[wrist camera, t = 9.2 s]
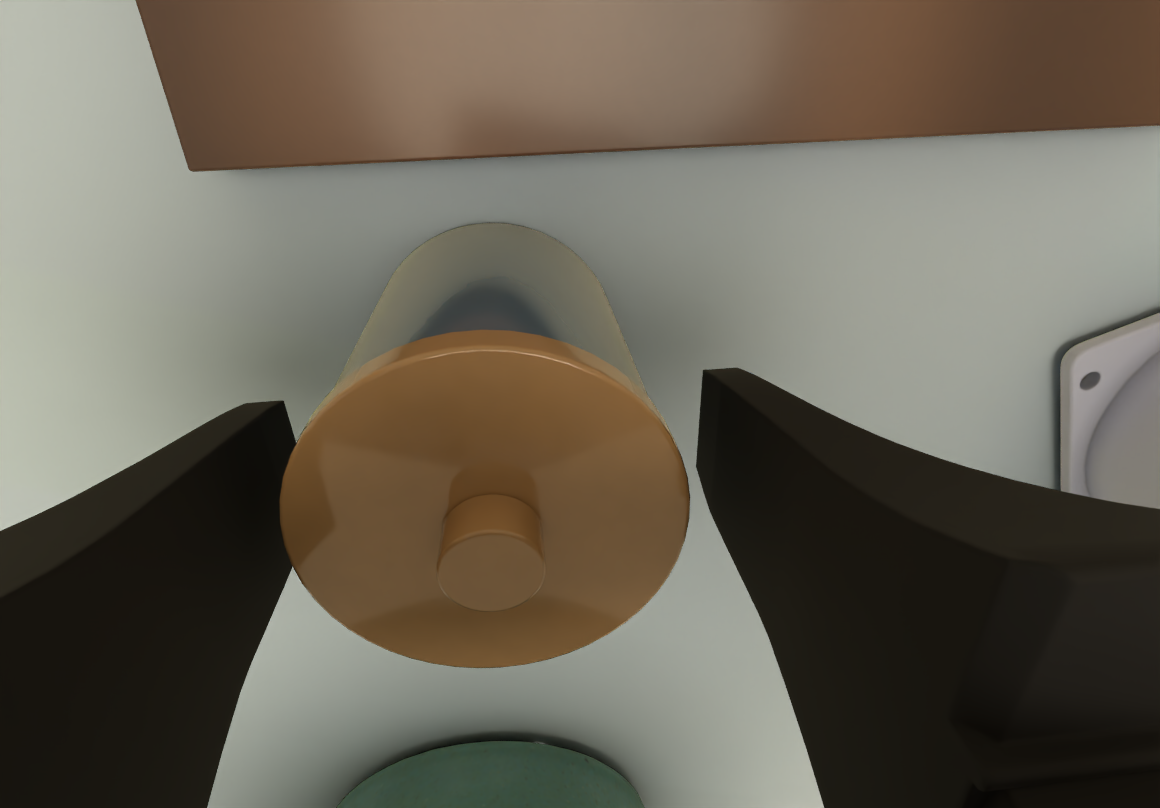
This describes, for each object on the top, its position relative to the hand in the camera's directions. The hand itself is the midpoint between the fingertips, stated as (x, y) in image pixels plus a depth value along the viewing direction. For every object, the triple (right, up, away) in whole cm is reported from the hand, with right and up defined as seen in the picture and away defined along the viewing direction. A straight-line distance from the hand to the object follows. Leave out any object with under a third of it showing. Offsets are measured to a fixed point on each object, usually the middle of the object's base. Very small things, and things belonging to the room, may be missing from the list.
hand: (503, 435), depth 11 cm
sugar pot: (-1, +2, +4) cm, 4 cm away
